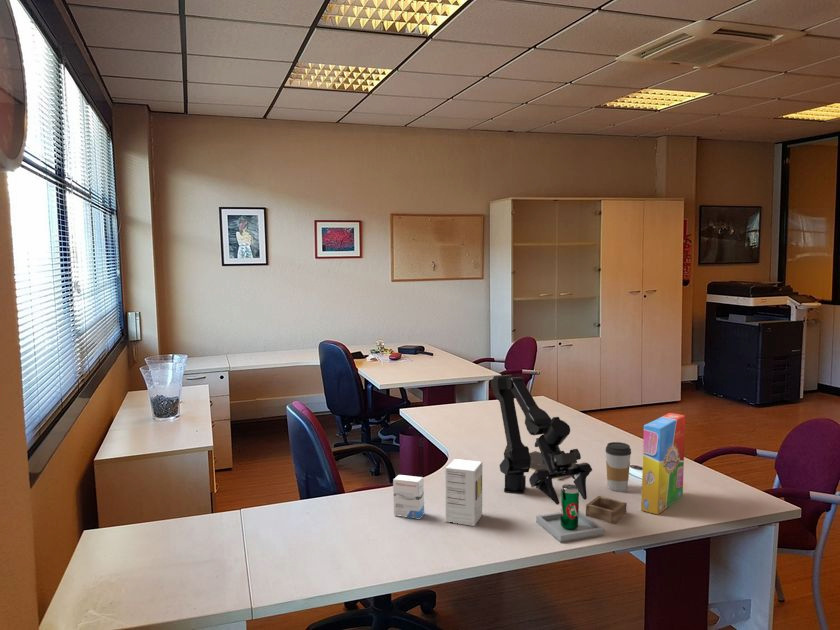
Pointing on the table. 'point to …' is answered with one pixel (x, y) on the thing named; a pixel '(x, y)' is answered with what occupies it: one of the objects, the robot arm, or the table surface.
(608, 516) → the walnut cup-holder
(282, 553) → the table surface
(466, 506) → the supplement box
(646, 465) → the game box
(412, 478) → the ink box
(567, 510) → the soda can
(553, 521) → the grey tray
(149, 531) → the table surface
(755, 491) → the table surface
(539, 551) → the table surface
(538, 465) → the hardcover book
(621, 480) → the coffee cup
